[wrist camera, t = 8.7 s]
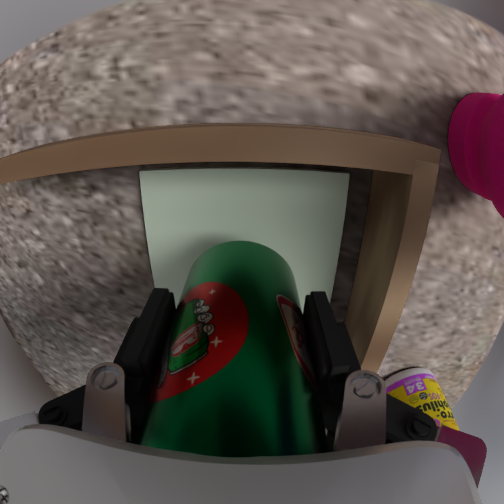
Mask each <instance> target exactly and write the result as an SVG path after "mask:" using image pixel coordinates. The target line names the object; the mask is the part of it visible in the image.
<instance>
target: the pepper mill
mask: <svg viewBox="0 0 504 504" xmlns="http://www.w3.org/2000/svg"><path fill="white" fill-rule="evenodd" d="M448 145H449V154H450V158H451V162H452V166H453V169H454V171H455V173H456V175H457V177H458V179H459V180H460V181H461V182H462V184H463V185H464V186H466V187H467V188H468V189H469V190H471V191H473V192H474V193H476V194H478V195H480V196H482V197H484V198H486V199H488V200H491V201H492V202H493V205H494V206H495V208H496V209H497V211H498V212H499V213H500V215H501V216H502V217H503V218H504V94H503V95H502V96H501V95H499V94H491V93H471V94H469V95H467V96H465V97H464V98H463V99H462V100H461V101H460V102H459V103H458V105H457V106H456V108H455V110H454V112H453V114H452V118H451V121H450V125H449V134H448Z"/></svg>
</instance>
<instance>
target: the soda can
mask: <svg viewBox="0 0 504 504" xmlns="http://www.w3.org/2000/svg"><path fill="white" fill-rule="evenodd" d="M135 444H137V445H142V446H147V447H153V448H159V449H166V450H173V451H180V452H189V453H194V454H199V455H206V456H216V457H259V456H292V455H307V454H319V453H328V452H329V449H328V443H327V437H326V432H325V426H324V420H323V415H322V409H321V404H320V398H319V393H318V388H317V382H316V377H315V372H314V367H313V362H312V357H311V352H310V347H309V342H308V337H307V333H306V328H305V323H304V318H303V314H302V309H301V305H300V300H299V296H298V291H297V287H296V282H295V278H294V275H293V272H292V270H291V268H290V266H289V265H288V263H287V262H286V261H285V259H284V258H283V257H282V256H281V255H279V254H278V253H277V252H276V251H274V250H272V249H271V248H269V247H267V246H264V245H262V244H259V243H255V242H251V241H229V242H225V243H221V244H218V245H216V246H213V247H211V248H210V249H208V250H206V251H205V252H204V253H203V254H201V255H200V256H199V257H198V258H197V260H196V261H195V262H194V264H193V265H192V267H191V269H190V272H189V274H188V277H187V280H186V283H185V286H184V288H183V291H182V294H181V297H180V300H179V303H178V305H177V308H176V311H175V314H174V317H173V320H172V323H171V326H170V329H169V332H168V335H167V338H166V341H165V344H164V347H163V350H162V353H161V357H160V360H159V363H158V366H157V369H156V373H155V376H154V379H153V382H152V386H151V389H150V392H149V396H148V399H147V403H146V406H145V410H144V413H143V417H142V420H141V424H140V428H139V431H138V435H137V439H136V442H135Z"/></svg>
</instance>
